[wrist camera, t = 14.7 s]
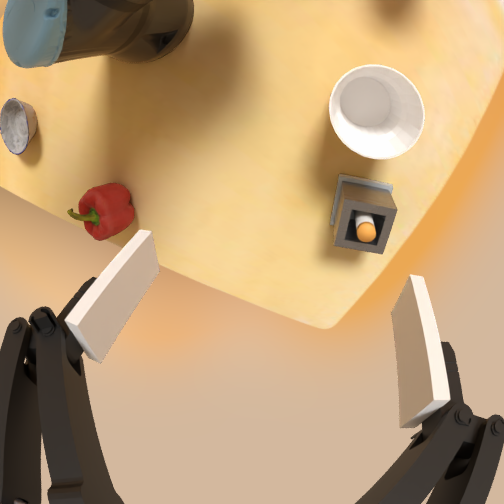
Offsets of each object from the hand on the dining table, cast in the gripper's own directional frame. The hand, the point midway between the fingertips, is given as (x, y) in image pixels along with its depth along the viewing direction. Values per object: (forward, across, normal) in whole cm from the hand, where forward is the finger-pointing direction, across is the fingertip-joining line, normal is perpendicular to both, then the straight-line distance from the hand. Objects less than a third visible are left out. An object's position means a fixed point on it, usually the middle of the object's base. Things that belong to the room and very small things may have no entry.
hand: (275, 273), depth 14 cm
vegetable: (+29, -33, -14) cm, 46 cm away
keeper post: (+29, +9, -9) cm, 31 cm away
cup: (+29, +7, +6) cm, 30 cm away
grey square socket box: (+28, +9, -9) cm, 31 cm away
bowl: (+29, -58, +4) cm, 65 cm away
